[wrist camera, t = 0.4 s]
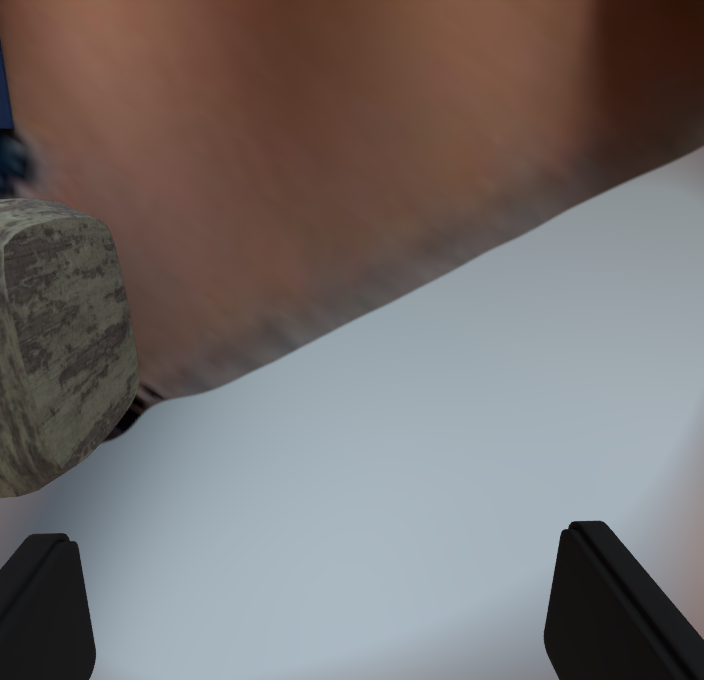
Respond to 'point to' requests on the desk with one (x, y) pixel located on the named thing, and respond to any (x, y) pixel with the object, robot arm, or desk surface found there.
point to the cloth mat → (4, 98)
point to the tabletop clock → (59, 341)
